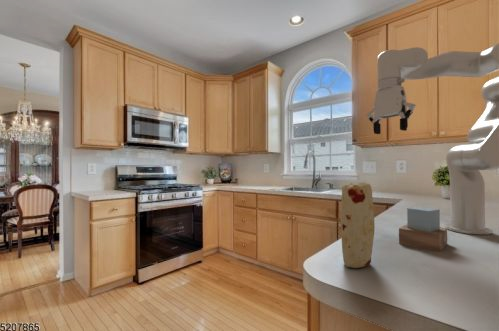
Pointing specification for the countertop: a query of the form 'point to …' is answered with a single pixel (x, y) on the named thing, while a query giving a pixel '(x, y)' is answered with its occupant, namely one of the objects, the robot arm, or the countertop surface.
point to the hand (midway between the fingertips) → (389, 132)
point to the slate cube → (423, 219)
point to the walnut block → (423, 238)
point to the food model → (357, 224)
